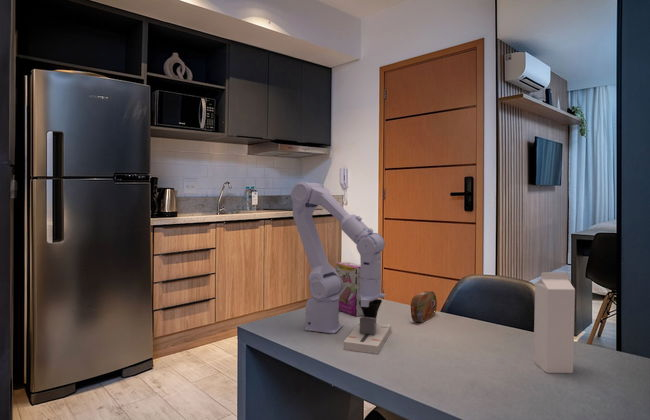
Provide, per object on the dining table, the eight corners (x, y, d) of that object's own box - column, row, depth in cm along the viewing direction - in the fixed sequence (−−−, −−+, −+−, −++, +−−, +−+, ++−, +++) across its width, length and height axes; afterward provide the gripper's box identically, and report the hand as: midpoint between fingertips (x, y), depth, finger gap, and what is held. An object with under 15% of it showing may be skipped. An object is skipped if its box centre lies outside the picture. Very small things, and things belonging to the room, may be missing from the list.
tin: (418, 325, 124) (418, 298, 124) (408, 323, 126) (408, 296, 126) (437, 314, 136) (437, 289, 136) (428, 313, 138) (428, 288, 138)
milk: (533, 362, 97) (534, 269, 96) (559, 362, 97) (560, 270, 96) (546, 373, 91) (547, 274, 90) (574, 373, 91) (575, 274, 90)
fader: (359, 333, 110) (359, 318, 110) (361, 330, 112) (362, 315, 112) (374, 334, 109) (374, 319, 109) (376, 332, 111) (376, 317, 111)
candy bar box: (334, 309, 141) (334, 262, 141) (345, 307, 144) (346, 261, 144) (356, 317, 132) (356, 267, 132) (367, 315, 135) (367, 265, 135)
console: (343, 349, 105) (343, 341, 104) (361, 328, 121) (361, 321, 121) (377, 354, 102) (377, 345, 101) (391, 331, 118) (391, 324, 118)
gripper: (379, 283, 105) (379, 336, 105) (389, 273, 118) (389, 320, 119) (353, 281, 107) (352, 333, 107) (366, 272, 121) (365, 317, 121)
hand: (370, 326), depth 113 cm, fingers closed
